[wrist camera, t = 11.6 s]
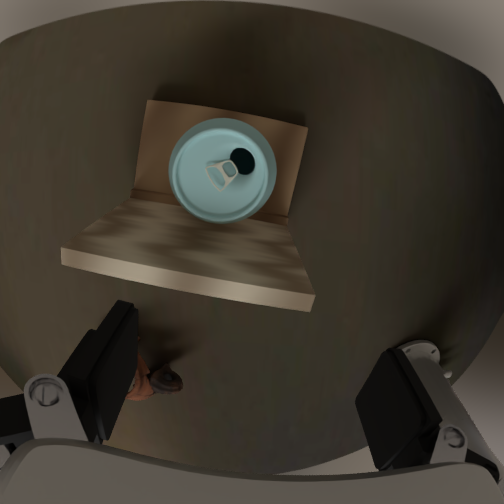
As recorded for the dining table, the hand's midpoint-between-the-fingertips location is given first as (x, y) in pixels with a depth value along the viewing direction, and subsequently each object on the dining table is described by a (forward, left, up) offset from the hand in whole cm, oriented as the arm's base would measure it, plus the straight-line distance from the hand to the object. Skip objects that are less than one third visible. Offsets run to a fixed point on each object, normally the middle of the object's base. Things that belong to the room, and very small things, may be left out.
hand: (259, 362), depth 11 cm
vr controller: (+10, +24, -24) cm, 35 cm away
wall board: (+4, -4, -23) cm, 24 cm away
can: (+3, -5, -22) cm, 23 cm away
